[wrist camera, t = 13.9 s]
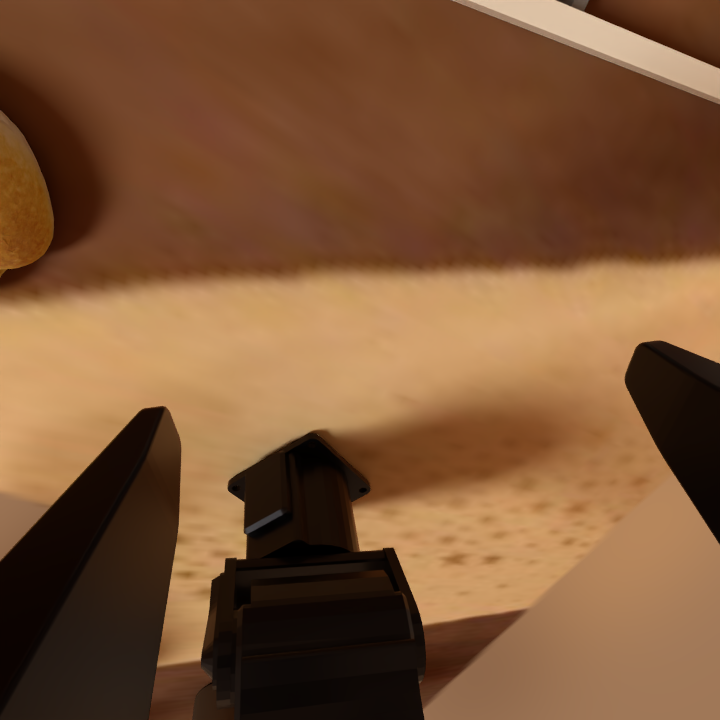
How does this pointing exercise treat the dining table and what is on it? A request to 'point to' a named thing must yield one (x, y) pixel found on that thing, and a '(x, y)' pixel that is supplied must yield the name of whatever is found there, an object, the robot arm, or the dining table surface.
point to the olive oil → (210, 706)
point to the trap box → (606, 42)
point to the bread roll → (21, 201)
